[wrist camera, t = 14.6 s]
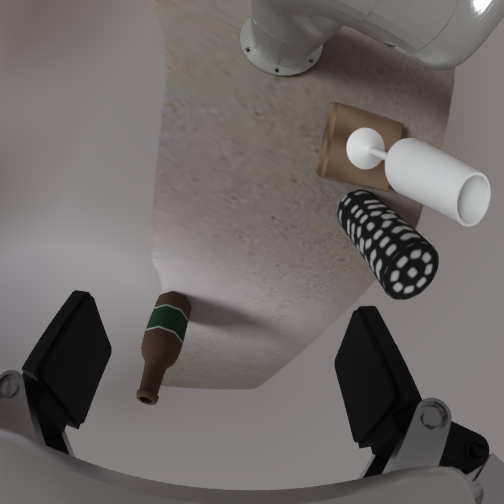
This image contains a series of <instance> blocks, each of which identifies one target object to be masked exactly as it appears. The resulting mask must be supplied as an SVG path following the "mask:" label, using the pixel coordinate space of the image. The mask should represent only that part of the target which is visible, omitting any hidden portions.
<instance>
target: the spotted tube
mask: <svg viewBox="0 0 504 504" xmlns="http://www.w3.org/2000/svg"><path fill="white" fill-rule="evenodd" d="M337 215H338V220H339V223H340V224H341V226H342V227H343V229H344V230H345V232H346V233H347V234H348V236H349V237H350V239H351V240H352V242H353V243H354V244H355V246H356V247H357V249H358V250H359V252H360V253H361V255H362V256H363V258H364V259H365V261H366V262H367V264H368V265H369V267H370V268H371V270H372V271H373V273H374V275H375V276H376V278H377V279H378V281H379V282H380V284H381V286H382V287H383V289H384V290H385V292H386V293H387V294H388V296H390V297H391V298H393V299H396V300H405V299H409V298H412V297H414V296H416V295H418V294H419V293H421V292H422V291H423V290H425V288H427V287H428V285H429V284H430V283H431V282H432V280H433V279H434V276H435V274H436V272H437V269H438V264H439V258H438V253H437V251H436V249H435V248H434V247H433V246H432V245H431V244H430V243H429V242H428V241H427V240H426V239H425V238H423V236H421V235H420V234H419V233H418V232H417V231H416V230H415V229H414V228H413V227H411V226H410V225H409V224H408V223H407V222H406V221H405V220H403V219H402V218H401V217H400V216H399V215H398V214H396V213H395V212H394V211H393V210H392V209H390V208H389V207H388V206H387V205H386V204H384V203H383V202H382V201H381V200H379V199H378V198H377V197H376V196H374V195H373V194H372V193H371V192H369V191H366V190H355V191H352V192H350V193H349V194H347V195H346V196H345V197H344V198H343V199H342V201H341V202H340V204H339V207H338V213H337Z"/></svg>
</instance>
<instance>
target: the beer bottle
mask: <svg viewBox="0 0 504 504" xmlns="http://www.w3.org/2000/svg"><path fill="white" fill-rule="evenodd" d="M190 311H191V305H190V304H189V302H188V301H187V299H186V298H185V296H183V295H181V294H178V293H175V292H173V291H171V292H168V293H165V294H162V295H160V296H159V298H158V300H157V302H156V305H155V308H154V310H153V312H152V315H151V317H150V320H149V323H148V325H147V328H146V330H145V334H144V338H143V343H142V347H141V349H142V355H143V358H144V360H145V366H144V372H143V376H142V380H141V385H140V389H139V390H137V399H138V400H139V401H141V402H142V403H145V404H148V405H155V404H156V402H157V401H158V398H159V397H158V396H157V395H158V391H159V388H160V385H161V382H162V379H163V376H164V373H165V371H166V369H167V368H169V367H170V366H172V365H173V364H174V363H175V362H176V360H177V358H178V356H179V353H180V351H181V348H182V345H183V341H184V336H185V332H186V328H187V324H188V320H189V315H190Z"/></svg>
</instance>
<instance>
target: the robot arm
mask: <svg viewBox="0 0 504 504" xmlns="http://www.w3.org/2000/svg"><path fill="white" fill-rule="evenodd" d="M503 17H504V0H252V10H251V16H250V17H249V19H248V20H247V21H246V22H245V24H244V25H243V27H242V30H241V35H240V43H241V47H242V51H243V53H244V55H245V56H246V58H247V59H248V60H249V61H250V63H251V64H253V65H254V66H255V67H256V68H258V69H260V70H262V71H263V72H266V73H269V74H272V75H277V76H291V75H296V74H300V73H302V72H304V71H306V70H308V69H309V68H311V67H312V66H313V65H314V64H315V63H316V62H317V61H318V59H319V58H320V56H321V53H322V50H323V44H324V43H325V42H326V41H328V40H329V39H330V38H331V37H332V36H333V35H335V34H336V33H337V32H338V31H339V30H340V29H341V28H342V26H343V25H345V26H347V27H351V28H353V29H355V30H357V31H359V32H361V33H363V34H365V35H367V36H369V37H371V38H373V39H375V40H377V41H378V42H380V43H382V44H384V45H386V46H387V47H389V48H391V49H392V50H394V51H396V52H397V53H400V54H401V55H403V56H404V57H406V58H408V59H410V60H411V61H413V62H415V63H416V64H418V65H420V66H422V67H425V68H428V69H431V70H440V71H441V70H448V69H451V68H454V67H456V66H458V65H460V64H461V63H463V62H464V61H465V60H467V59H468V58H469V57H470V56H471V55H472V54H473V53H474V52H475V51H476V50H477V49H478V48H479V47H480V46H481V45H482V43H483V42H484V41H485V39H487V37H488V36H489V35H490V34H491V32H492V31H493V30H494V28H495V27H496V26H497V25H498V23H499V22H500V21H501V19H502V18H503ZM247 50H250V52H247ZM309 60H311V63H310V62H309ZM276 69H277V70H279V72H276V71H275V70H276ZM110 356H111V345H110V342H109V340H108V337H107V335H106V332H105V329H104V326H103V324H102V321H101V318H100V315H99V312H98V309H97V306H96V303H95V300H94V298H93V297H92V296H91V295H90V294H89V292H84V291H77V290H76V291H74V292H72V294H71V295H70V297H69V298H68V299H67V301H66V302H65V303H64V305H63V306H62V307H61V309H60V310H59V312H58V313H57V314H56V316H55V317H54V319H53V320H52V322H51V323H50V324H49V326H48V327H47V329H46V330H45V332H44V333H43V335H42V336H41V338H40V339H39V341H38V343H37V344H36V346H35V347H34V349H33V351H32V352H31V354H30V355H29V357H28V359H27V360H26V362H25V364H24V365H23V367H22V370H23V374H22V375H21V374H20V373H19V372H18V371H15V370H8V371H5V372H3V373H2V374H1V375H0V504H504V463H503V462H502V461H501V460H500V459H499V458H498V457H497V456H496V455H495V454H493V453H491V454H489V445H488V443H487V440H486V439H485V438H484V437H483V436H481V435H480V434H478V433H476V432H473V431H471V430H469V429H467V428H465V427H463V426H461V425H459V424H457V423H454V422H452V421H451V412H450V410H449V408H448V406H447V405H446V404H445V403H444V402H443V401H441V400H439V399H437V398H427V399H424V400H422V398H421V396H420V394H419V391H418V389H417V387H416V385H415V383H414V380H413V378H412V376H411V374H410V372H409V370H408V367H407V365H406V363H405V361H404V359H403V357H402V355H401V353H400V351H399V349H398V347H397V345H396V344H395V342H394V340H393V338H392V336H391V334H390V332H389V330H388V328H387V326H386V325H385V323H384V321H383V319H382V317H381V315H380V313H379V311H378V310H377V308H376V307H375V306H360V307H359V308H358V309H357V310H355V311H354V312H353V314H352V317H351V320H350V323H349V325H348V328H347V330H346V333H345V336H344V338H343V341H342V344H341V346H340V348H339V351H338V353H337V356H336V358H335V370H336V374H337V377H338V381H339V385H340V389H341V392H342V396H343V400H344V403H345V408H346V412H347V416H348V419H349V424H350V428H351V432H352V436H353V439H354V441H355V442H358V444H359V448H365V447H370V446H371V449H372V453H373V455H372V456H371V458H370V460H369V462H368V463H367V465H366V467H365V469H364V470H363V472H362V473H361V475H360V477H359V478H358V479H357V480H352V481H347V482H341V483H335V484H328V485H322V486H314V487H306V488H296V489H285V490H284V489H283V490H221V489H207V488H197V487H189V486H182V485H175V484H169V483H163V482H158V481H153V480H148V479H143V478H139V477H135V476H131V475H127V474H123V473H120V472H116V471H113V470H109V469H106V468H103V467H100V466H97V465H94V464H91V463H88V462H86V461H83V460H80V459H77V458H76V457H75V455H74V453H73V450H72V448H71V445H70V443H69V440H68V437H67V435H66V432H65V427H66V425H68V426H71V427H73V428H76V429H79V427H80V424H82V423H84V421H85V419H86V416H87V413H88V410H89V408H90V405H91V402H92V400H93V397H94V395H95V392H96V389H97V387H98V384H99V382H100V379H101V377H102V374H103V372H104V370H105V367H106V365H107V363H108V360H109V358H110Z"/></svg>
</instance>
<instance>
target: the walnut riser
mask: <svg viewBox="0 0 504 504" xmlns="http://www.w3.org/2000/svg"><path fill="white" fill-rule="evenodd" d="M403 126H404V124H402V123H399V122H397V121H394V120H391V119H388V118H386V117H383V116H380V115H377V114H374V113H371V112H368V111H364V110H361V109H358V108H354V107H351V106H347V105H344V104H340V103H330V104H329V109H328V115H327V121H326V126H325V131H324V137H323V142H322V147H321V152H320V157H319V162H318V167H317V172H316V173H317V174H318V175H319V176H321V177H322V178H326V179H331V180H336V181H341V182H346V183H350V184H355V185H360V186H364V187H368V188H373V189H377V190H381V191H385V192H388V189H389V186H390V184H389V182H388V180H387V177H386V174H385V160H382V161H381V162H380V163H379V164H378V165H377V166H376V167H374V168H372V169H360V168H358V167H356V166H355V165H353V163H352V162H351V161H350V160H349V158H348V155H347V149H346V146H347V141H348V139H349V137H350V135H351V134H352V133H353V132H354V131H356V130H358V129H360V128H370V129H373V130H375V131H376V132H377V133H379V135H380V136H381V137H382V139H383V142H384V146H385V152H387V153H388V151H389V149H390V148H391V147H392V146H393V145H394V144H395V143H396V142H397V141H399V140H401V136H402V131H403Z"/></svg>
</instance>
